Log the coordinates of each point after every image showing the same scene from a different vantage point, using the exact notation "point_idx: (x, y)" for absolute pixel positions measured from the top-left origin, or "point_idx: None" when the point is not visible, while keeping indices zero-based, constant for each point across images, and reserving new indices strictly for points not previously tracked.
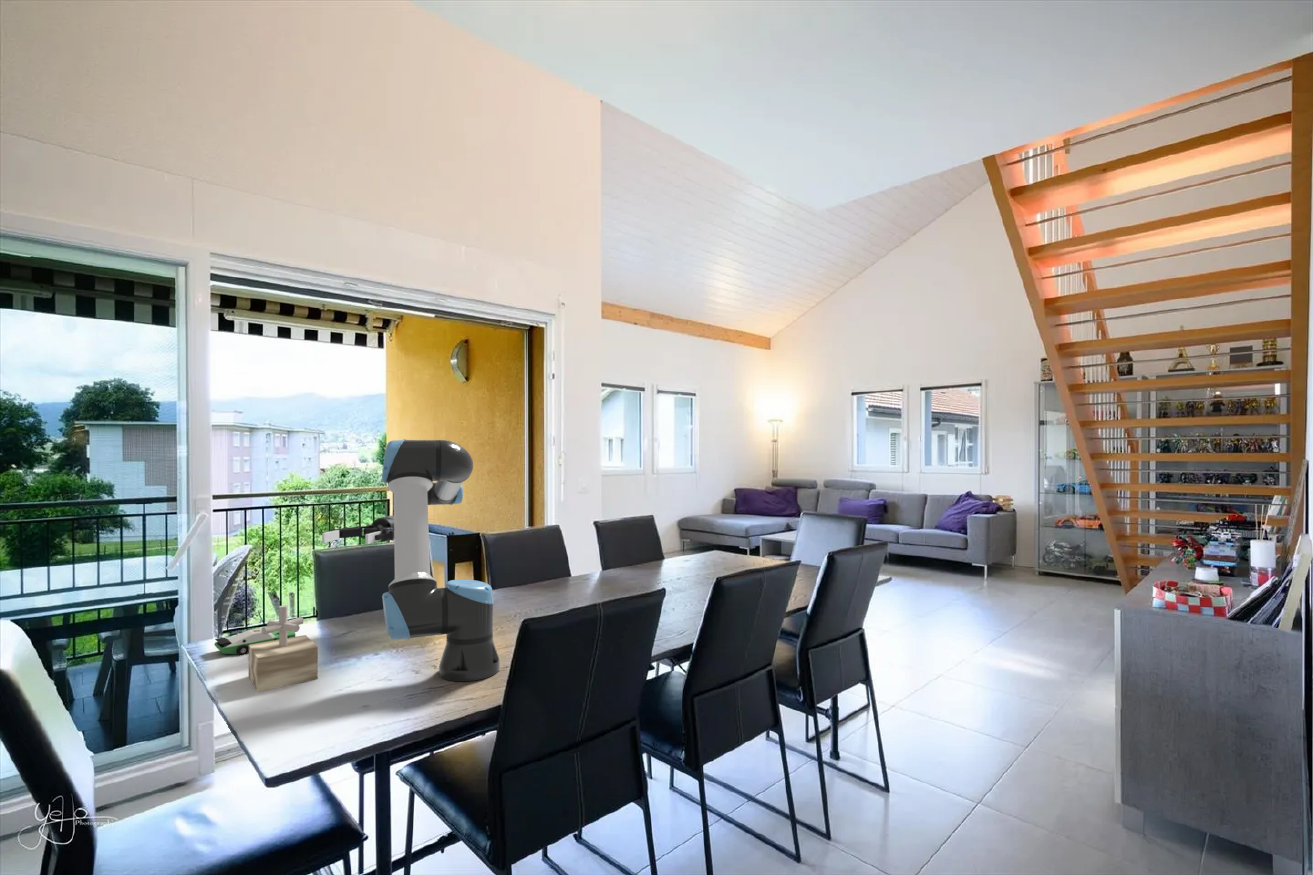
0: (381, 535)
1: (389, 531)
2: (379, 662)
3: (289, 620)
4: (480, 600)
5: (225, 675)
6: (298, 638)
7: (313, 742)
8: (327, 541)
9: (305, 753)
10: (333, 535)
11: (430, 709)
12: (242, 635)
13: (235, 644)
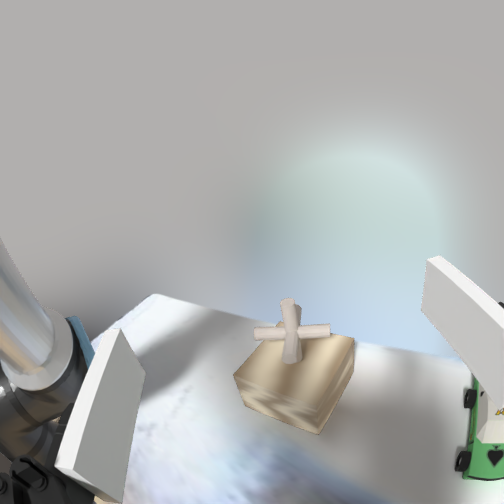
0: (59, 435)
1: (11, 493)
2: (194, 484)
3: (289, 335)
4: None
5: (386, 359)
6: (309, 388)
7: (149, 318)
8: (435, 324)
9: (147, 309)
10: (476, 337)
11: None
12: None
13: (480, 384)
